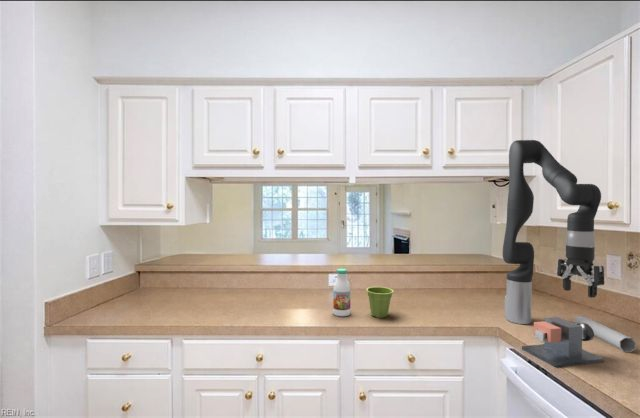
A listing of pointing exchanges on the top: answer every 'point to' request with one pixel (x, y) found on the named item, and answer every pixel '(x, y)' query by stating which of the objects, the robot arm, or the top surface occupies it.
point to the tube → (609, 334)
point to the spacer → (549, 331)
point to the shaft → (542, 336)
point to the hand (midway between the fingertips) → (579, 293)
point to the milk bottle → (341, 294)
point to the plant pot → (379, 300)
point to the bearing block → (563, 346)
